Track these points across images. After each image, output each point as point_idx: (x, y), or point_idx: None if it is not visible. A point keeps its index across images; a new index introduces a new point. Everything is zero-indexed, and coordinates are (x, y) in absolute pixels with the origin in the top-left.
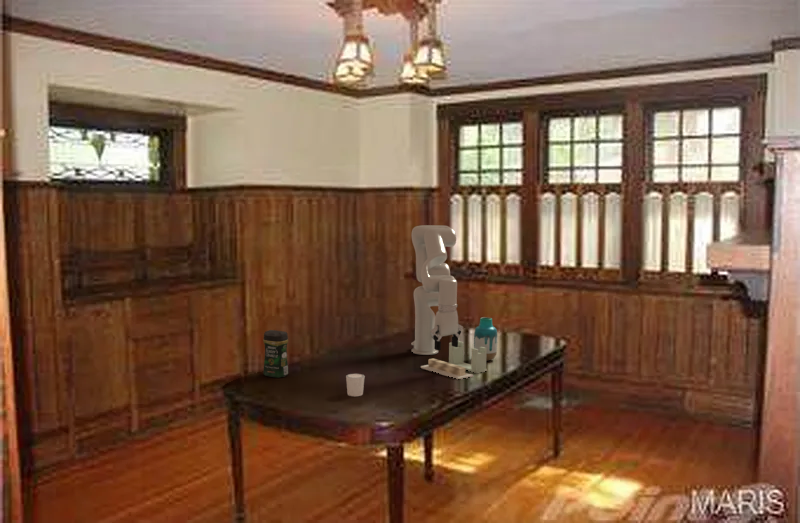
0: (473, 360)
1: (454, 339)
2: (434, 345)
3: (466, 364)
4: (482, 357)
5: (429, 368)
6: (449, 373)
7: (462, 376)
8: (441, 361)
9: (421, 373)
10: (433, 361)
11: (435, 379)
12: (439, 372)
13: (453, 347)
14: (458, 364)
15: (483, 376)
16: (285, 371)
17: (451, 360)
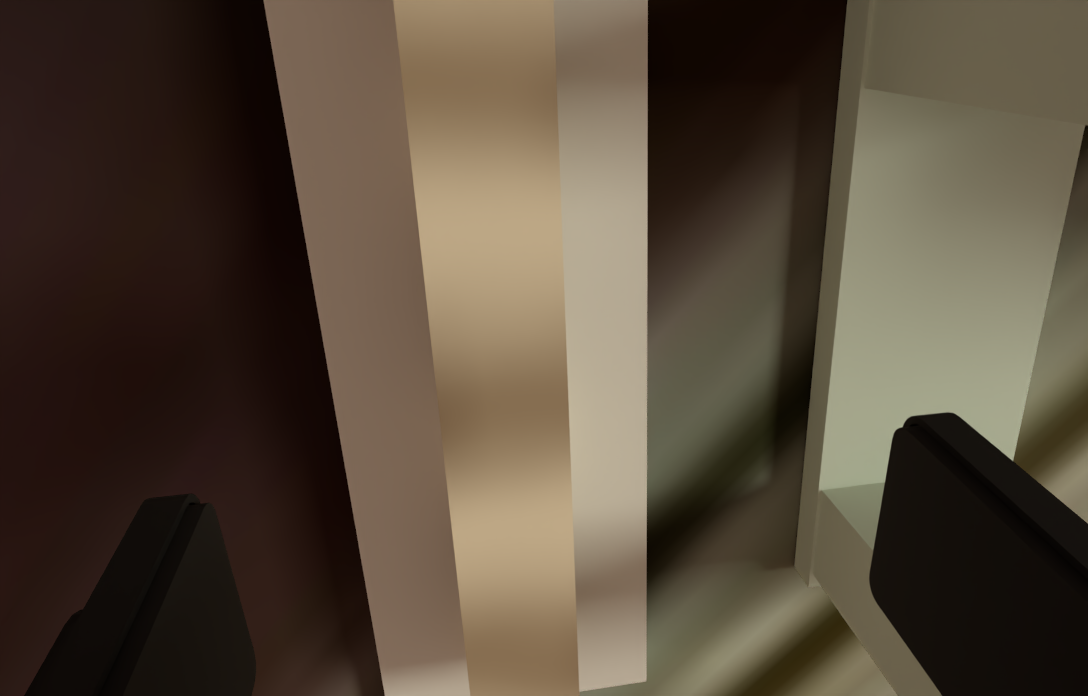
0: None
1: (1023, 688)
2: (101, 576)
3: (1012, 220)
4: None
5: (294, 69)
6: (416, 505)
7: None
8: (517, 218)
9: (38, 173)
10: (402, 61)
11: (96, 569)
12: (327, 363)
13: None
14: (920, 145)
15: (753, 686)
16: None
17: (906, 28)
